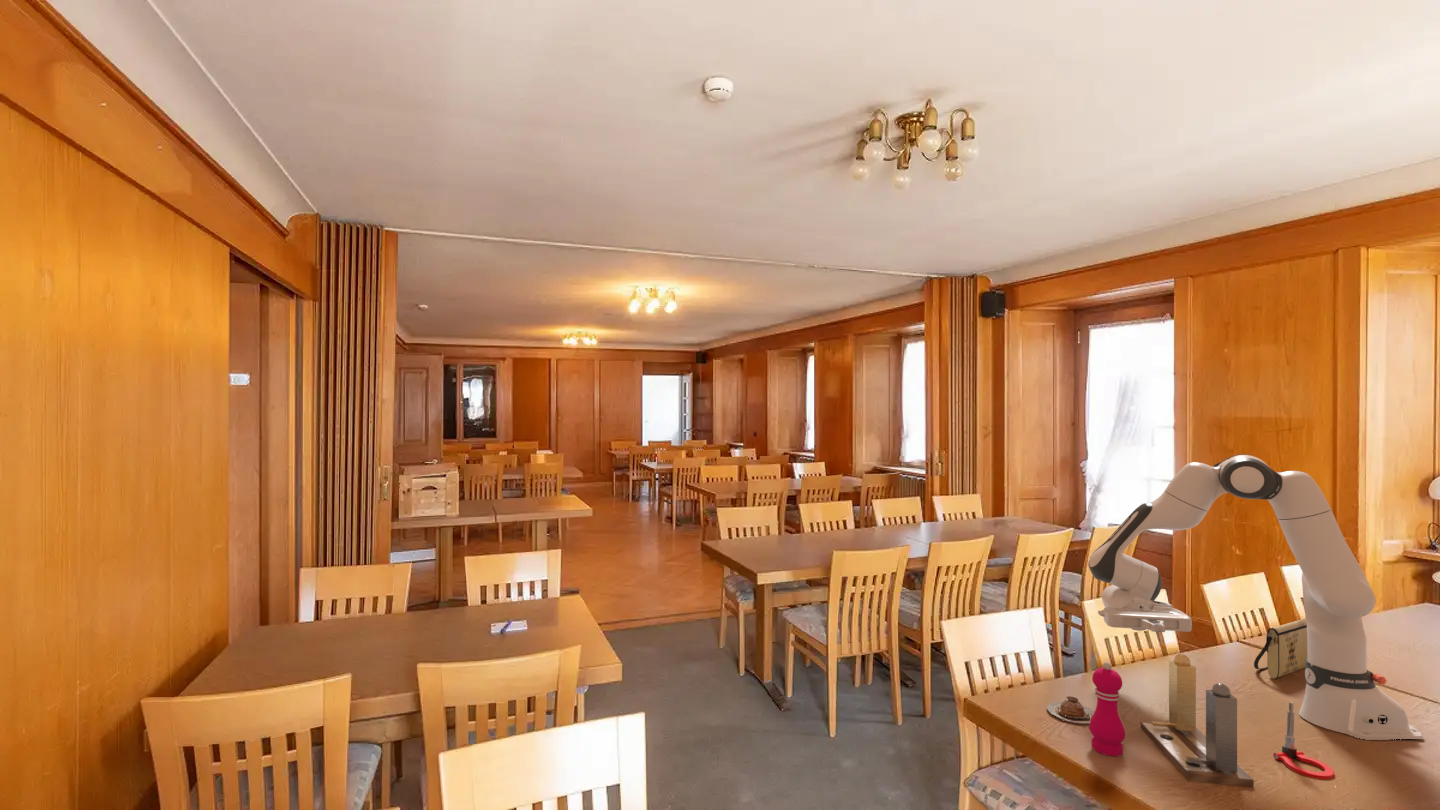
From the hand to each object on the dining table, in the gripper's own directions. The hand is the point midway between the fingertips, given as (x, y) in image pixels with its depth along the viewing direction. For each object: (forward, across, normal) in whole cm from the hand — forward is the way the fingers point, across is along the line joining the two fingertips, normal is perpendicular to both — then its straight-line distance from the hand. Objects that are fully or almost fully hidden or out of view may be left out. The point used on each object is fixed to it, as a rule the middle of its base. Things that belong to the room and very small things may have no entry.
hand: (1159, 628), depth 173 cm
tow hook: (+22, +20, +22) cm, 37 cm away
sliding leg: (+12, -2, +20) cm, 23 cm away
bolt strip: (+21, -4, +20) cm, 30 cm away
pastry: (+4, -22, +23) cm, 32 cm away
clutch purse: (-42, +52, +22) cm, 70 cm away
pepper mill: (+22, -20, +22) cm, 37 cm away
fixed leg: (+29, -2, +20) cm, 35 cm away
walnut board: (+21, -2, +22) cm, 30 cm away
